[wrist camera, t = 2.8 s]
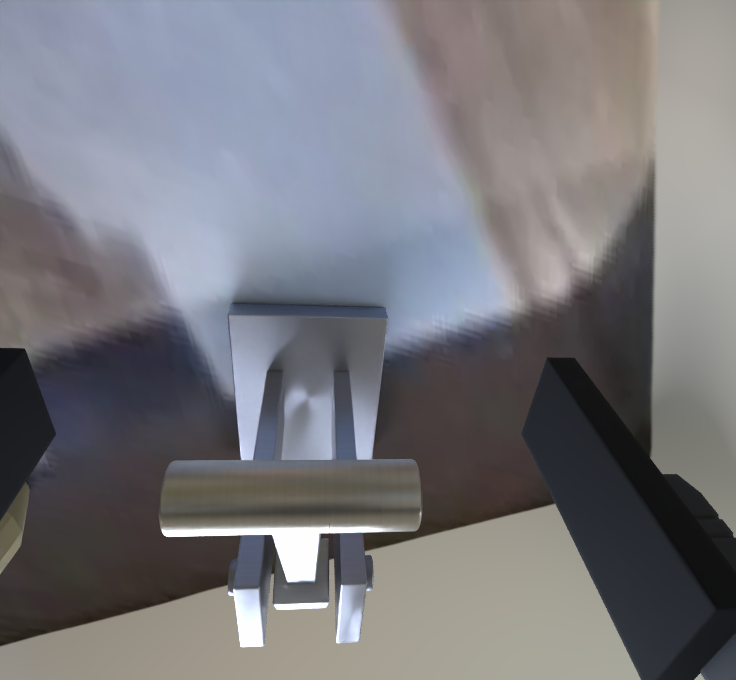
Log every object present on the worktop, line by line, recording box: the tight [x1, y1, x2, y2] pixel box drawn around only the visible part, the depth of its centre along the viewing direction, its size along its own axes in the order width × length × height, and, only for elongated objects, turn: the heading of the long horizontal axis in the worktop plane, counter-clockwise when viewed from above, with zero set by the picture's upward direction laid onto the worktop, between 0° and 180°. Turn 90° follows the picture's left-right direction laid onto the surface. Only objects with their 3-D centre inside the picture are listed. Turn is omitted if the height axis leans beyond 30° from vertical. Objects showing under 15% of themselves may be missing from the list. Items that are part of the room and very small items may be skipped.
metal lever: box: [159, 459, 423, 610], centre depth 16 cm, size 15×5×2 cm, turn 176°
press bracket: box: [228, 304, 388, 647], centre depth 26 cm, size 12×9×15 cm
